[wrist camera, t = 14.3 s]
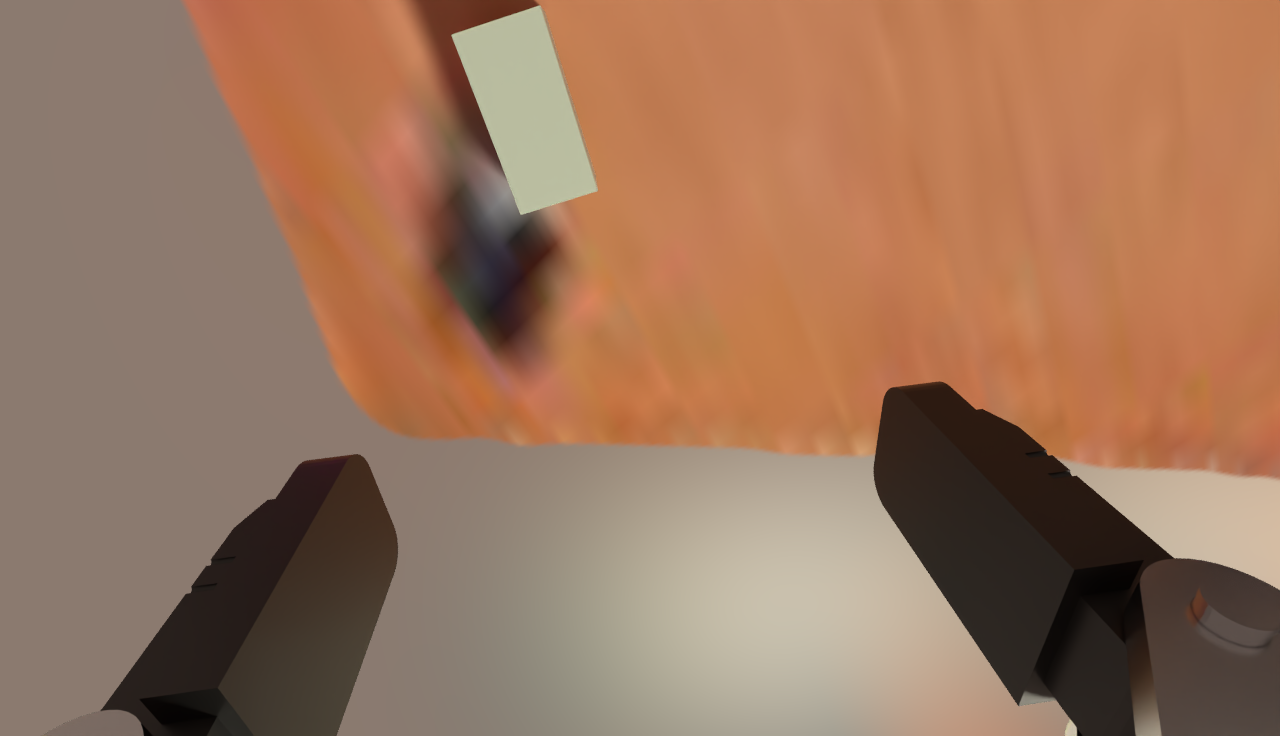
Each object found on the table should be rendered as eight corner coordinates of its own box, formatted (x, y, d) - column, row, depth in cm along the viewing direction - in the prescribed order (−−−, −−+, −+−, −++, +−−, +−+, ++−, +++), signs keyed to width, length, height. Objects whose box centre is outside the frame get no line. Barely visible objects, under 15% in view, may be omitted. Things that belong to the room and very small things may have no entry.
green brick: (597, 190, 31) (595, 174, 36) (540, 5, 27) (545, 12, 31) (520, 214, 32) (527, 195, 36) (451, 34, 27) (468, 37, 32)
